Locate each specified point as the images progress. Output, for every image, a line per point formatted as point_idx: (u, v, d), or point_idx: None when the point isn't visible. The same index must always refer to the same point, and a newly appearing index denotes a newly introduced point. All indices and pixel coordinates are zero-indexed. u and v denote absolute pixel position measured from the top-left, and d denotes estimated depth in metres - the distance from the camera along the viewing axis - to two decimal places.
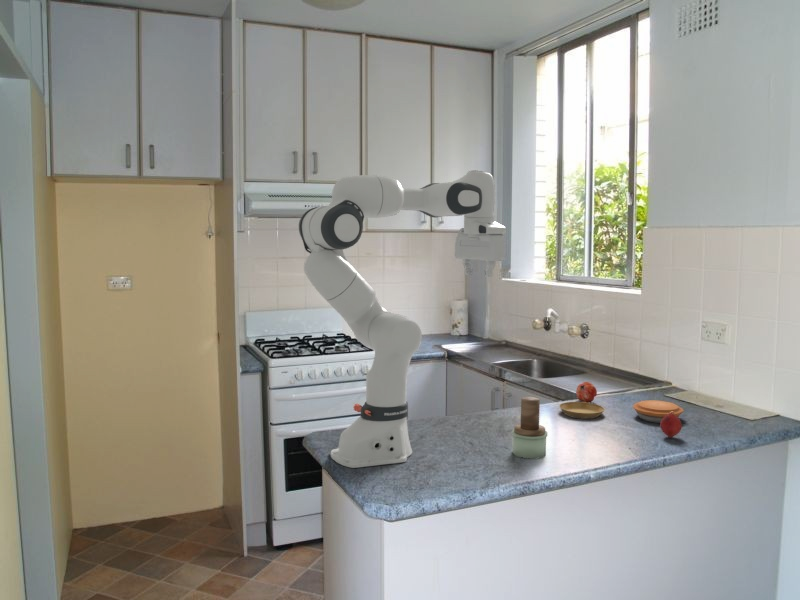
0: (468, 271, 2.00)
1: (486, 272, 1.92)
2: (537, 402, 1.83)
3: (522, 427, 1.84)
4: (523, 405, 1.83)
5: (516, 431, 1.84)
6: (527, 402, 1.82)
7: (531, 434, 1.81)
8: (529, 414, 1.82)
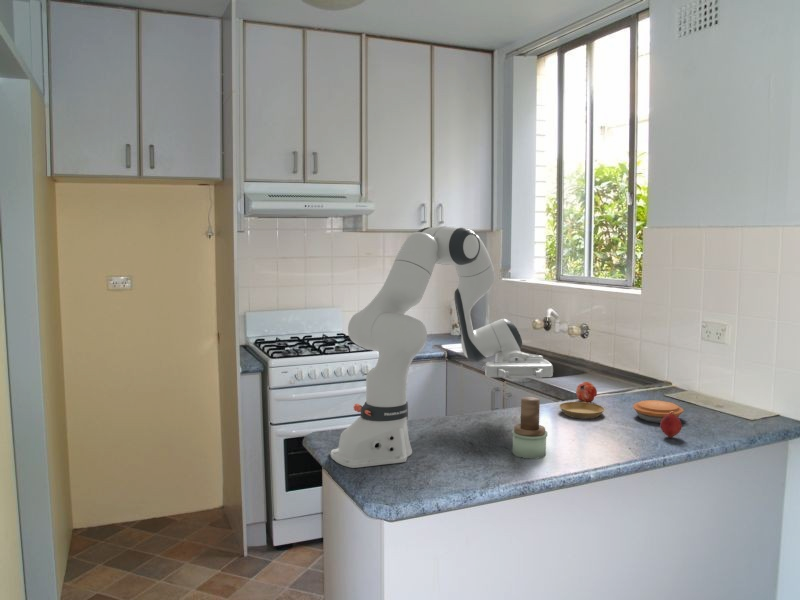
0: (508, 372, 1.97)
1: (538, 371, 1.97)
2: (537, 402, 1.83)
3: (522, 427, 1.84)
4: (523, 405, 1.83)
5: (516, 431, 1.84)
6: (527, 402, 1.82)
7: (531, 434, 1.81)
8: (529, 414, 1.82)
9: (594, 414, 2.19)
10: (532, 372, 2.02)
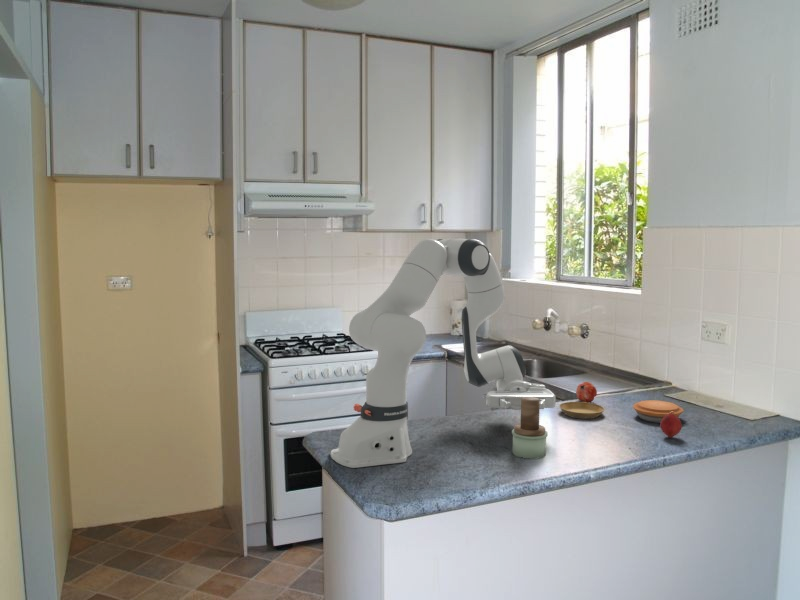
0: (509, 403, 1.93)
1: (541, 402, 1.93)
2: (537, 402, 1.83)
3: (522, 427, 1.84)
4: (523, 405, 1.83)
5: (516, 431, 1.84)
6: (527, 402, 1.82)
7: (531, 434, 1.81)
8: (529, 414, 1.82)
9: (594, 414, 2.19)
10: None
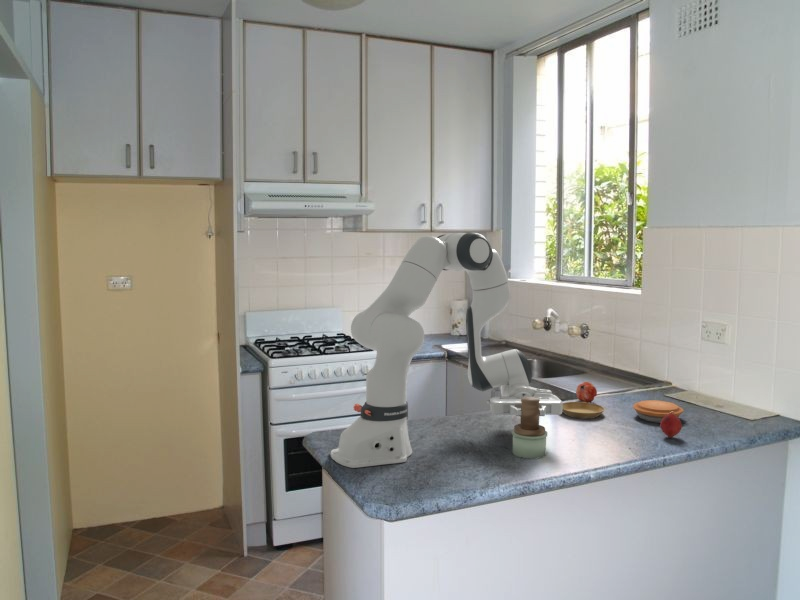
0: (520, 410, 1.85)
1: (542, 408, 1.85)
2: (537, 402, 1.83)
3: (522, 427, 1.84)
4: (523, 405, 1.83)
5: (516, 431, 1.84)
6: (527, 402, 1.82)
7: (531, 434, 1.81)
8: (529, 414, 1.82)
9: (594, 414, 2.19)
10: None
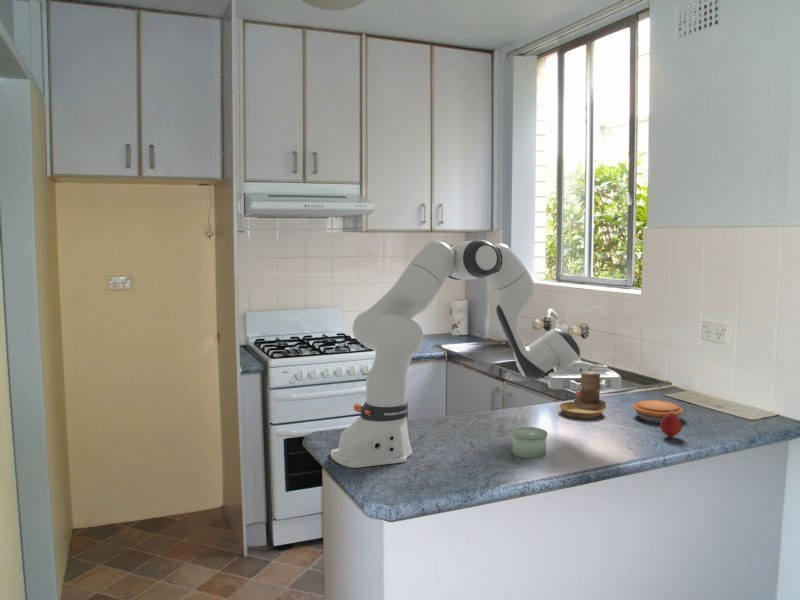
0: None
1: (602, 383, 1.85)
2: (598, 376, 1.83)
3: (583, 401, 1.84)
4: (583, 380, 1.84)
5: (577, 405, 1.84)
6: (588, 376, 1.82)
7: (593, 408, 1.81)
8: (590, 388, 1.83)
9: (594, 414, 2.19)
10: None
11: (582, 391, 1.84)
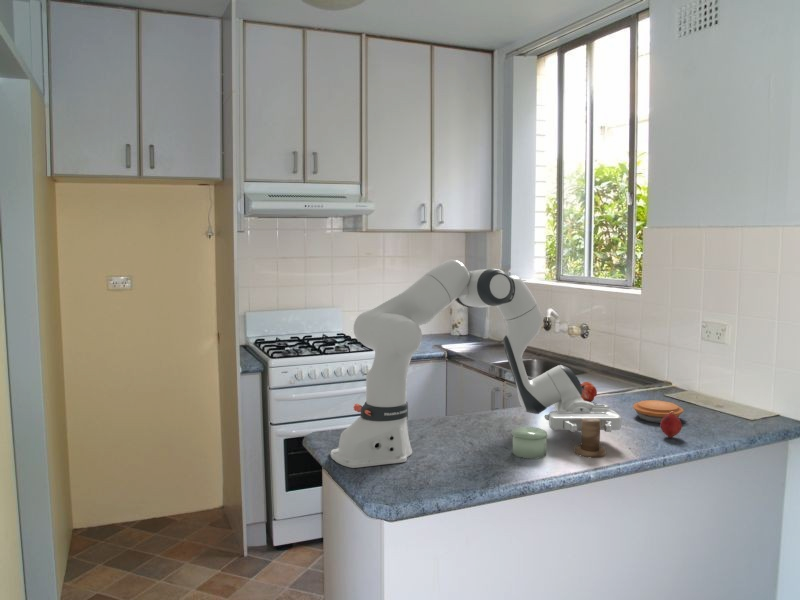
0: None
1: (608, 424, 1.86)
2: (598, 423, 1.84)
3: (583, 448, 1.85)
4: (584, 427, 1.85)
5: (577, 452, 1.85)
6: (588, 423, 1.84)
7: (593, 455, 1.82)
8: (590, 435, 1.84)
9: None
10: (600, 424, 1.90)
11: (582, 438, 1.85)
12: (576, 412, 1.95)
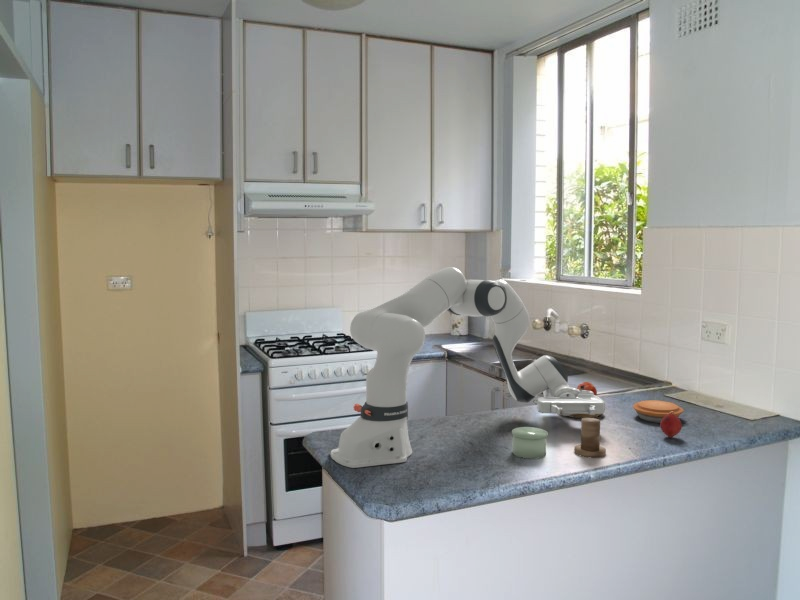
0: (561, 409, 1.99)
1: (592, 408, 1.99)
2: (598, 423, 1.84)
3: (583, 448, 1.85)
4: (584, 427, 1.85)
5: (577, 452, 1.85)
6: (588, 423, 1.84)
7: (593, 455, 1.82)
8: (590, 435, 1.84)
9: None
10: (584, 409, 2.03)
11: (582, 438, 1.85)
12: (563, 397, 2.08)
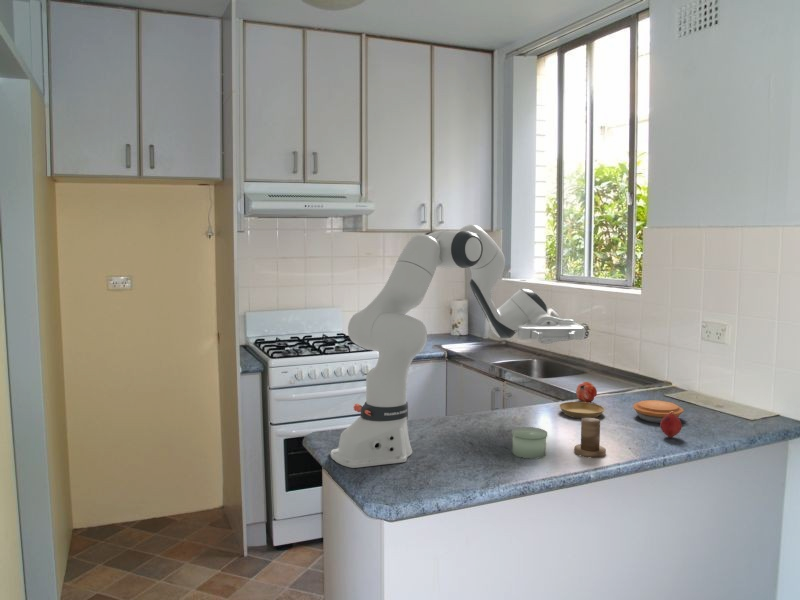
0: None
1: (571, 332, 2.01)
2: (598, 423, 1.84)
3: (583, 448, 1.85)
4: (583, 427, 1.85)
5: (577, 452, 1.85)
6: (588, 423, 1.84)
7: (593, 455, 1.82)
8: (590, 435, 1.84)
9: (594, 414, 2.19)
10: (564, 334, 2.05)
11: (582, 438, 1.85)
12: (543, 325, 2.10)
